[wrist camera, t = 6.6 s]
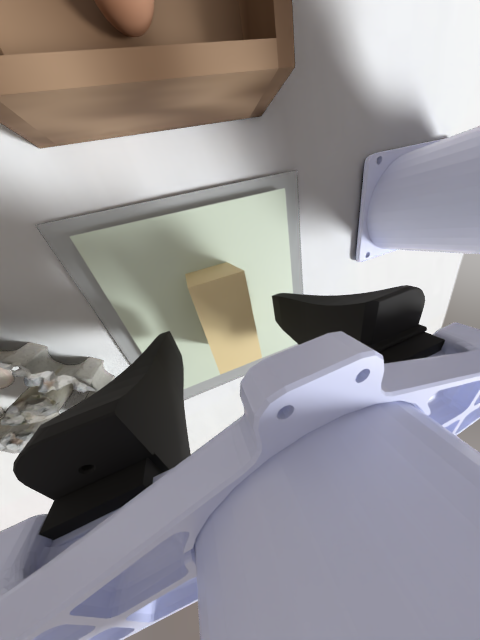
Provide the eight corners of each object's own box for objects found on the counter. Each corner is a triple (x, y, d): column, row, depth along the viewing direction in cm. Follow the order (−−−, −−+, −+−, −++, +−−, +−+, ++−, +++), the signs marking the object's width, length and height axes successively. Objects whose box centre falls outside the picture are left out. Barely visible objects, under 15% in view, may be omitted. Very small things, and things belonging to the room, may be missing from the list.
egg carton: (-105, 399, 11) (-238, 473, 8) (-75, 300, 10) (-219, 335, 6) (91, 426, 16) (65, 479, 13) (128, 363, 15) (112, 402, 11)
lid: (279, 190, 12) (327, 168, 8) (292, 339, 18) (323, 367, 15) (76, 236, 10) (10, 235, 6) (168, 388, 16) (165, 437, 12)
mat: (293, 171, 13) (296, 170, 12) (303, 347, 20) (306, 349, 20) (40, 225, 10) (35, 225, 9) (162, 406, 17) (162, 409, 17)
